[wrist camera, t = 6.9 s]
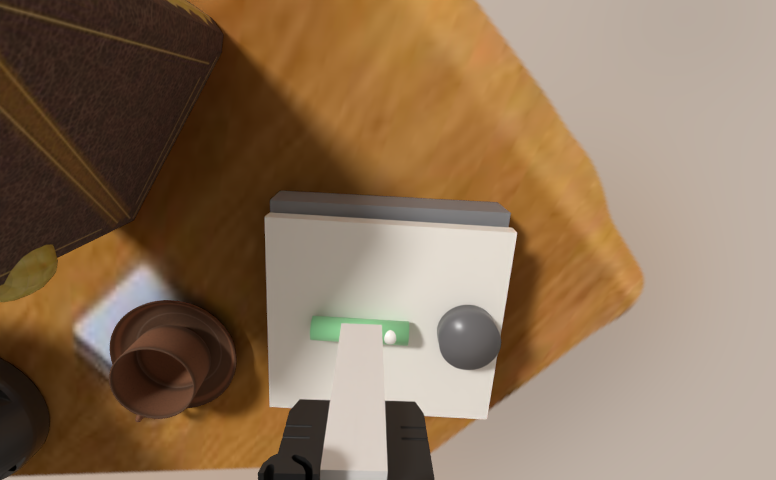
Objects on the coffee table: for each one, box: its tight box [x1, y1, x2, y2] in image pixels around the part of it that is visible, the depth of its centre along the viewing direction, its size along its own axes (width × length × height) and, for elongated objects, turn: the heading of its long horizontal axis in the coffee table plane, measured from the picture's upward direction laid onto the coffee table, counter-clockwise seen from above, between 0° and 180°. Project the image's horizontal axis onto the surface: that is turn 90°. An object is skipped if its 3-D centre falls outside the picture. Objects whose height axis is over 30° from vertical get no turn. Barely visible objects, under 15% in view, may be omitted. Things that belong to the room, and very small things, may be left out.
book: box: [0, 0, 223, 302], centre depth 24 cm, size 22×8×25 cm, turn 146°
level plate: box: [265, 212, 517, 419], centre depth 36 cm, size 20×18×4 cm
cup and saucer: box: [109, 300, 237, 422], centre depth 40 cm, size 12×12×6 cm
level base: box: [270, 191, 511, 227], centre depth 40 cm, size 20×20×4 cm
